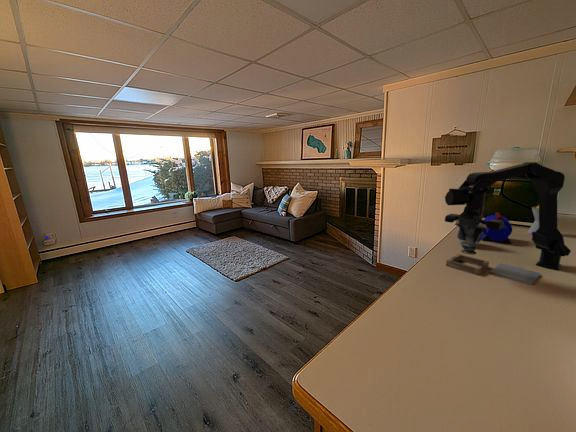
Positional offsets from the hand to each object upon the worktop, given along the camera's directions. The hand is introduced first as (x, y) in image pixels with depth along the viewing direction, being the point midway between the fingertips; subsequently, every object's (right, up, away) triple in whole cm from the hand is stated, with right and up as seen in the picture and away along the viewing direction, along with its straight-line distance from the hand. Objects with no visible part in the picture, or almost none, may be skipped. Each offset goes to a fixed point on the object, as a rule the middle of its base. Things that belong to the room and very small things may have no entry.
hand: (470, 240), depth 100 cm
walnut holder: (+1, -11, +3) cm, 12 cm away
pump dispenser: (+19, -5, +26) cm, 33 cm away
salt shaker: (0, -5, +1) cm, 5 cm away
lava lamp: (+68, 0, +38) cm, 78 cm away
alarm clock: (+37, -3, +31) cm, 49 cm away
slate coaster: (+13, -13, -6) cm, 19 cm away
